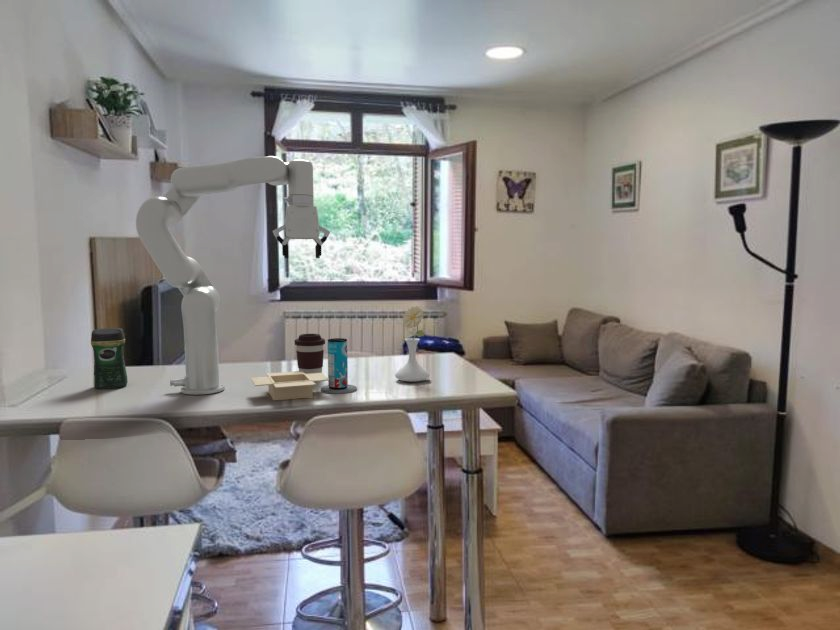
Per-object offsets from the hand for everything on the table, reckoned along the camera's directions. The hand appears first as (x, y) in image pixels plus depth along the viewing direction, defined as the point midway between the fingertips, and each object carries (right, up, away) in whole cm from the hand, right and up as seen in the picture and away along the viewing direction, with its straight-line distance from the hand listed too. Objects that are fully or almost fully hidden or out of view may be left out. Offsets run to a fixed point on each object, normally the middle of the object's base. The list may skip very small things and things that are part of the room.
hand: (302, 258), depth 189 cm
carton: (-2, -41, -6) cm, 42 cm away
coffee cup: (0, -39, +16) cm, 42 cm away
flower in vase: (+34, -39, +13) cm, 54 cm away
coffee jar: (-61, -40, +5) cm, 74 cm away
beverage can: (+11, -40, 0) cm, 42 cm away
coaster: (+11, -41, 0) cm, 42 cm away
